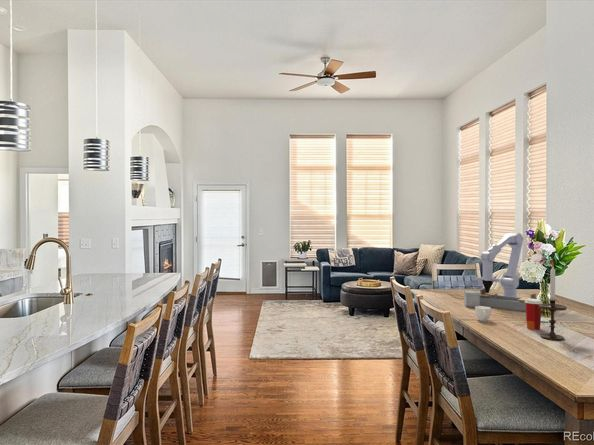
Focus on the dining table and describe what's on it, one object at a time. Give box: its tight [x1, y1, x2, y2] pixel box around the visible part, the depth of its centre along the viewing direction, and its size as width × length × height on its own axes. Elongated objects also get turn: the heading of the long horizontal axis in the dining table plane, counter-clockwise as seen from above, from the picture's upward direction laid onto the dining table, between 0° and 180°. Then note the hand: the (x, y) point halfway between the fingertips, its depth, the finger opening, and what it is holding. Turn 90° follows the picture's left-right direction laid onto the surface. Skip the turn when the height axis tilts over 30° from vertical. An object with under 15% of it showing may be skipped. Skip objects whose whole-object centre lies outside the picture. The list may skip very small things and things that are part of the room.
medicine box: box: [463, 291, 480, 308], centre depth 275 cm, size 8×4×9 cm, turn 84°
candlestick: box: [539, 260, 567, 342], centre depth 202 cm, size 11×11×35 cm
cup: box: [474, 306, 492, 322], centre depth 236 cm, size 8×10×7 cm
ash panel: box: [518, 293, 538, 302], centre depth 267 cm, size 15×8×4 cm, turn 138°
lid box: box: [480, 294, 526, 312], centre depth 275 cm, size 16×32×5 cm, turn 48°
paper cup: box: [525, 298, 544, 331], centre depth 219 cm, size 8×8×14 cm
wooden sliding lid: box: [479, 288, 498, 298], centre depth 283 cm, size 15×8×4 cm, turn 138°
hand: (487, 292), depth 282 cm, fingers closed
